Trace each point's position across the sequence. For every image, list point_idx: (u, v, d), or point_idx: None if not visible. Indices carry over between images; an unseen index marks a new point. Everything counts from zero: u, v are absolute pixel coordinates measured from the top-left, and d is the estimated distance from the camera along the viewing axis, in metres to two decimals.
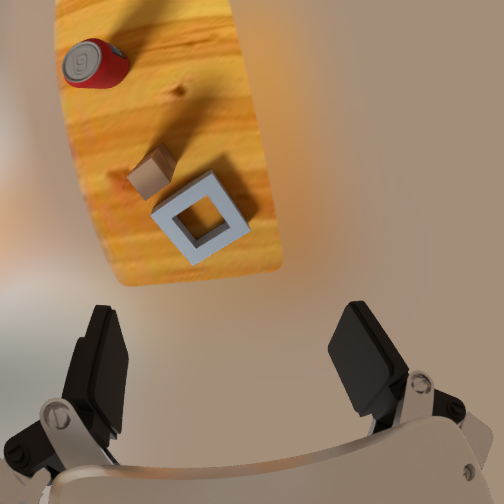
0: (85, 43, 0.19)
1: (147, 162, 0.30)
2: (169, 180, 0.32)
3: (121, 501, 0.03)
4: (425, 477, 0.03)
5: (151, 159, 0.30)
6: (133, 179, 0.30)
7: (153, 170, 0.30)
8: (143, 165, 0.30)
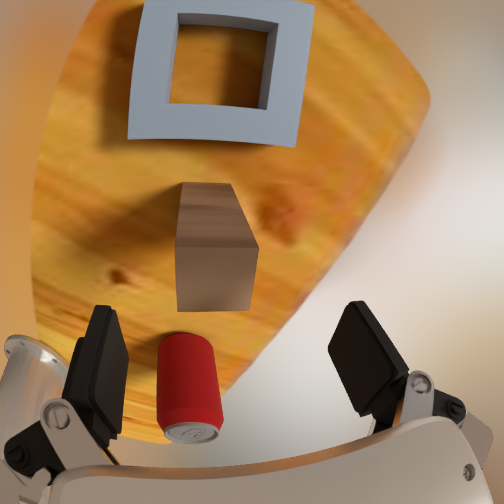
0: (176, 439, 0.22)
1: (190, 309, 0.14)
2: None
3: (121, 501, 0.03)
4: (425, 477, 0.03)
5: (179, 309, 0.14)
6: (241, 299, 0.15)
7: (190, 290, 0.14)
8: (202, 309, 0.14)
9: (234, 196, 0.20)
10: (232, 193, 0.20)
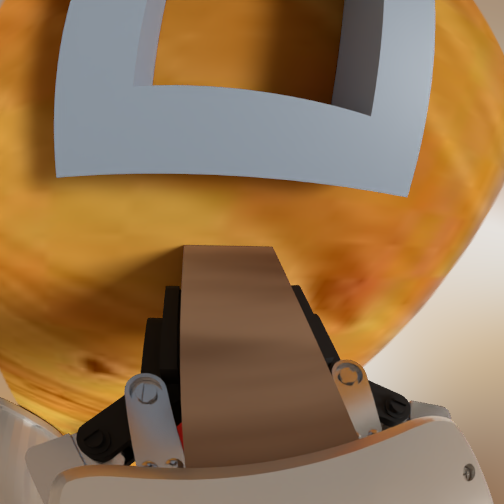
0: None
1: None
2: None
3: (121, 501, 0.03)
4: (425, 477, 0.03)
5: None
6: None
7: None
8: None
9: (291, 293, 0.10)
10: (284, 282, 0.10)
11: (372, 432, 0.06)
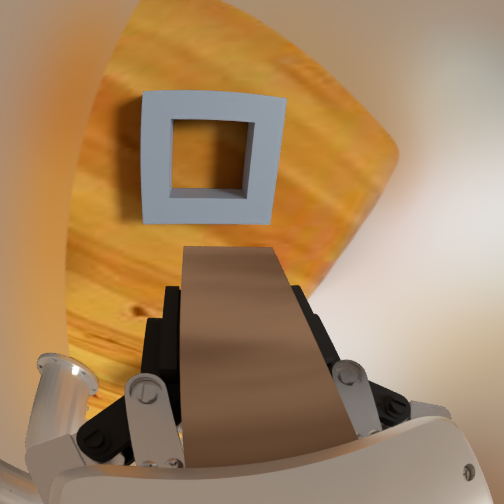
0: None
1: None
2: None
3: (121, 501, 0.03)
4: (425, 477, 0.03)
5: None
6: None
7: None
8: None
9: (291, 294, 0.10)
10: (284, 283, 0.10)
11: (372, 432, 0.06)
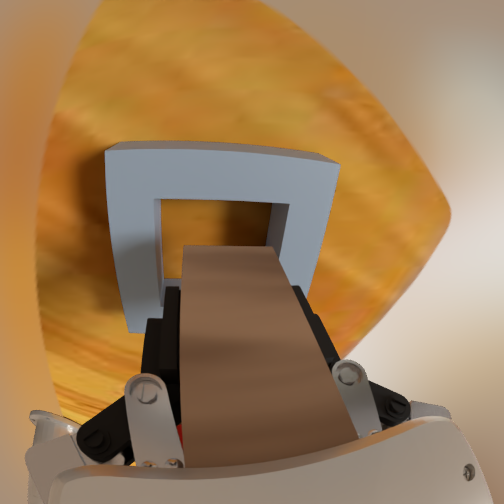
0: None
1: None
2: None
3: (121, 501, 0.03)
4: (425, 477, 0.03)
5: None
6: None
7: None
8: None
9: (291, 294, 0.10)
10: (284, 282, 0.10)
11: (372, 432, 0.06)
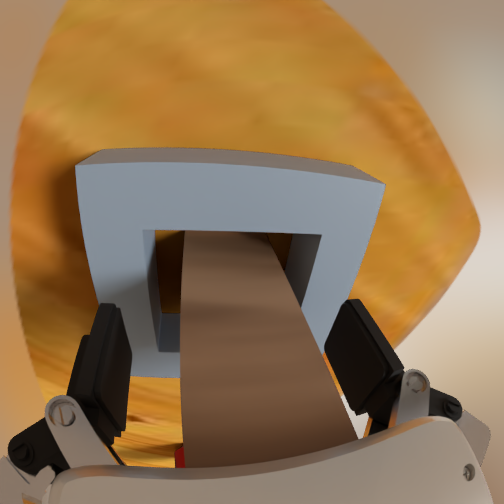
0: None
1: None
2: (186, 464, 0.04)
3: (121, 501, 0.03)
4: (425, 477, 0.03)
5: None
6: None
7: None
8: None
9: (280, 271, 0.11)
10: (274, 261, 0.12)
11: None
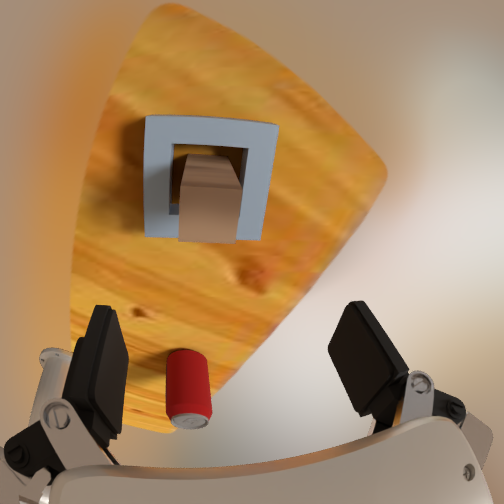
0: (179, 425, 0.32)
1: (188, 239, 0.19)
2: None
3: (121, 501, 0.03)
4: (425, 477, 0.03)
5: (180, 239, 0.18)
6: (228, 232, 0.19)
7: (189, 222, 0.18)
8: (197, 239, 0.19)
9: (229, 163, 0.24)
10: (228, 161, 0.24)
11: None
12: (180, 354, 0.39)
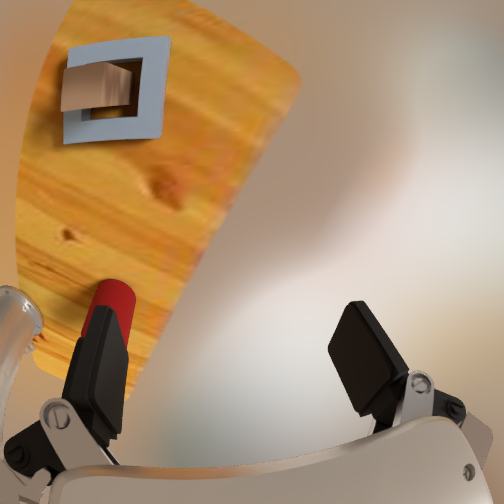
0: None
1: (67, 108, 0.16)
2: None
3: (121, 501, 0.03)
4: (425, 477, 0.03)
5: (61, 109, 0.16)
6: (95, 97, 0.17)
7: (68, 94, 0.16)
8: (73, 108, 0.16)
9: (126, 70, 0.21)
10: (127, 71, 0.22)
11: None
12: (106, 283, 0.36)
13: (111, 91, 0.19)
